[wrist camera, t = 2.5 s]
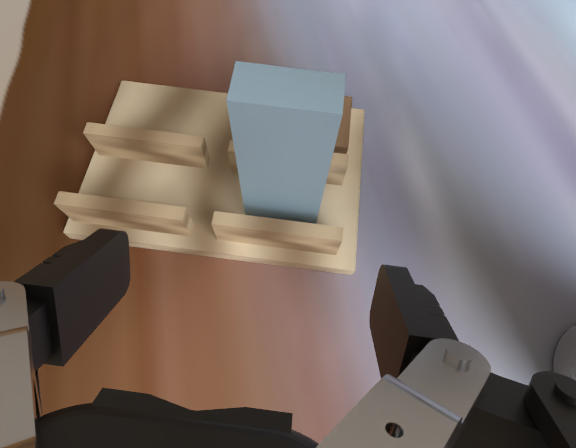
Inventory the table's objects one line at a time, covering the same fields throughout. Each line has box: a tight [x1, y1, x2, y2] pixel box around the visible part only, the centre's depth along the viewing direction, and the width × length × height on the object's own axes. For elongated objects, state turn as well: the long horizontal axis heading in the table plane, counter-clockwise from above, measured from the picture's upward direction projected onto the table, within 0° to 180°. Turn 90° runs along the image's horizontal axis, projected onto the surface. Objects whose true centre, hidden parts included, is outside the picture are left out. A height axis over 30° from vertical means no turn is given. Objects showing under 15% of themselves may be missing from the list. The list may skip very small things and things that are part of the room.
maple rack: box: [54, 81, 364, 275], centre depth 31 cm, size 22×15×4 cm
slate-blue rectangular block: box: [226, 61, 346, 224], centre depth 25 cm, size 6×2×13 cm, turn 83°
